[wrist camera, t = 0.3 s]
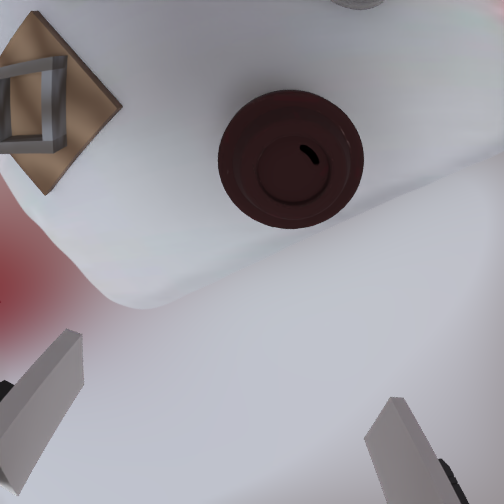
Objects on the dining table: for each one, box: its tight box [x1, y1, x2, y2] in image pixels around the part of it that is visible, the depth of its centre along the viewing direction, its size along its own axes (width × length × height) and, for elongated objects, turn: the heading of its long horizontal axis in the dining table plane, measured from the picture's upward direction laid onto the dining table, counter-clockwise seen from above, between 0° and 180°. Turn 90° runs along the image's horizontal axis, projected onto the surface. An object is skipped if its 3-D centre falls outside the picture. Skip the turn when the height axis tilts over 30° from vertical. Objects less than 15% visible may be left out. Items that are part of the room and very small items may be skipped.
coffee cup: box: [218, 90, 364, 229], centre depth 26 cm, size 10×10×15 cm
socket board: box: [0, 11, 123, 196], centre depth 28 cm, size 16×19×4 cm
